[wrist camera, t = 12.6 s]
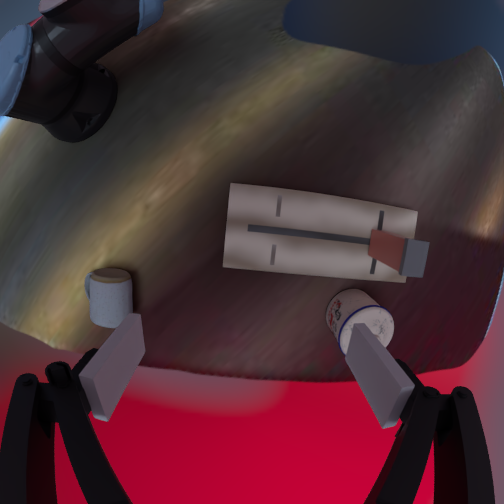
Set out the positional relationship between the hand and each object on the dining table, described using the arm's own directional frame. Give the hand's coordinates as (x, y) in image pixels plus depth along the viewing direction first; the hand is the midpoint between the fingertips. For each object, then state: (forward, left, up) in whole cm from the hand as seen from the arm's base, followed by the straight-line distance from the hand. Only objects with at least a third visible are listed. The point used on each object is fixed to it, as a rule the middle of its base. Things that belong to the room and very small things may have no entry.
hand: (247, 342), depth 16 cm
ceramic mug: (+9, -23, -28) cm, 37 cm away
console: (-4, +12, -27) cm, 30 cm away
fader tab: (-4, +20, -24) cm, 31 cm away
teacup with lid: (+10, +19, -28) cm, 35 cm away
